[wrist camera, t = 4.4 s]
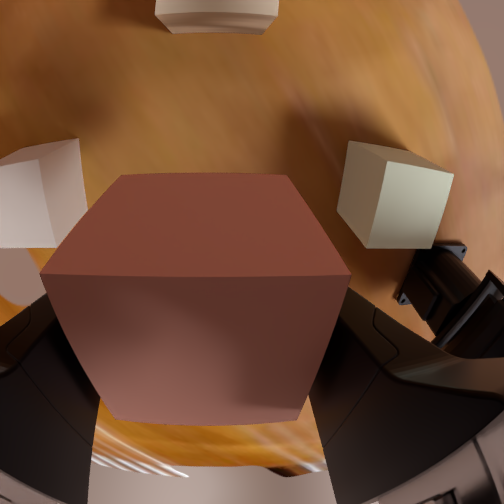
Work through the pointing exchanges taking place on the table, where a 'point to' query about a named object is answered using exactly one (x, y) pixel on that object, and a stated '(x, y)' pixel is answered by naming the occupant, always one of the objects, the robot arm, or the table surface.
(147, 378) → the brick-red block
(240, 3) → the ash block
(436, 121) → the table surface
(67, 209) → the pale grey block
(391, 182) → the sage green block
